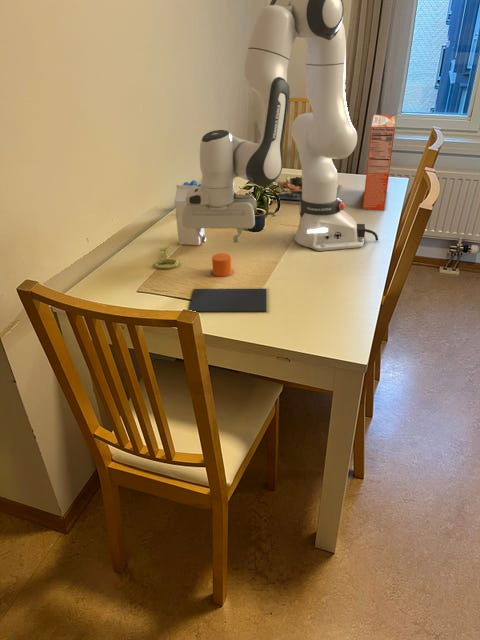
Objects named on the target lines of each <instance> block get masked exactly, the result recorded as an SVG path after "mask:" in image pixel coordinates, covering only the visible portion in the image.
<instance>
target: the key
mask: <svg viewBox="0 0 480 640" xmlns="http://www.w3.org/2000/svg"><path fill="white" fill-rule="evenodd" d="M160 252H164V256H163V258H159V259H156V260H155V261H154V262H153V266H154V268H155V269H159V270H166V269H167V270H168V269H173V268H177V267H178V266H179V260H178V259H176V258H172V257H170V255H169V254H170V248H169V246H166V247H161V248H160ZM166 263H171V264H168V265H162V264H166Z"/></svg>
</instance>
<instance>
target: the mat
mask: <svg viewBox="0 0 480 640" xmlns="http://www.w3.org/2000/svg"><path fill="white" fill-rule="evenodd" d="M189 305H190V306H189V309H188V311H189V310H192V311H196V312H195V313H267V288H194V289H193V293H192V297H191V301H190V304H189Z"/></svg>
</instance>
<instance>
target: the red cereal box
mask: <svg viewBox="0 0 480 640" xmlns="http://www.w3.org/2000/svg"><path fill="white" fill-rule="evenodd" d="M395 130H396V115H395V114H373V117H372V121H371V126H370V134H369V146H368V154H367V164H366V174H365V184H364V193H363V201H362V202H363V203H362V210H372V211H373V210H374V211H386V210H385V209H386V200H387V194H388V185H389V178H390V170H391V162H392V154H393V146H394V139H395V132H396V131H395Z"/></svg>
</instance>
